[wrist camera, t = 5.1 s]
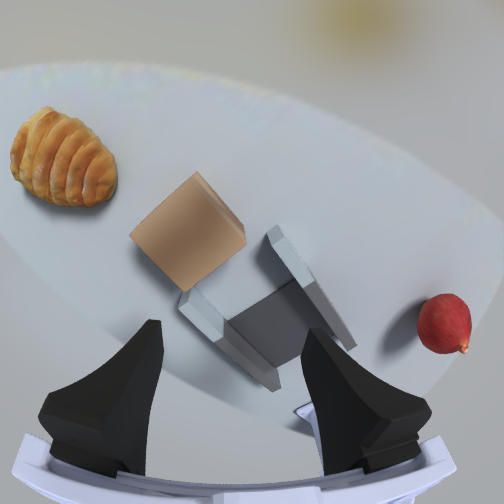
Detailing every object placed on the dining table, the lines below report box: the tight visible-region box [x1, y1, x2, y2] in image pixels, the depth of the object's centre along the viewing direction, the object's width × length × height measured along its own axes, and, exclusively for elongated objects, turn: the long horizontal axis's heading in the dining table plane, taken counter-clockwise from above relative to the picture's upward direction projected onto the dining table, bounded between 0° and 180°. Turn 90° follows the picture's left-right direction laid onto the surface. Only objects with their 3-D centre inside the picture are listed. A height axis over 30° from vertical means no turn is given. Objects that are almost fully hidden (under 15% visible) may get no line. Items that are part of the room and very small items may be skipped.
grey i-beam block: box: [178, 225, 357, 392], centre depth 21 cm, size 12×9×2 cm
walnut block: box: [129, 171, 247, 292], centre depth 17 cm, size 5×5×4 cm
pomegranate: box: [417, 294, 472, 354], centre depth 20 cm, size 6×6×8 cm
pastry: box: [10, 106, 118, 208], centre depth 15 cm, size 9×7×4 cm
